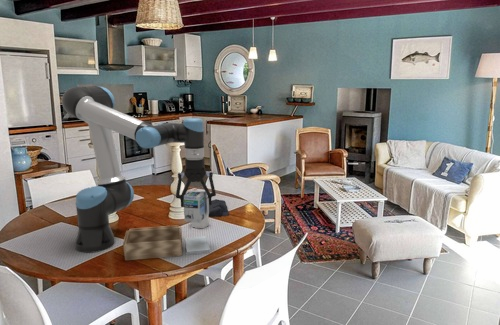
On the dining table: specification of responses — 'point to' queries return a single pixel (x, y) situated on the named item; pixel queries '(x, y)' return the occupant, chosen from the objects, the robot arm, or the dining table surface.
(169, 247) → the carton
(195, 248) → the tile
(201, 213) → the light bulb box
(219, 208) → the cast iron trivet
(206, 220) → the jar
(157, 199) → the dining table surface
